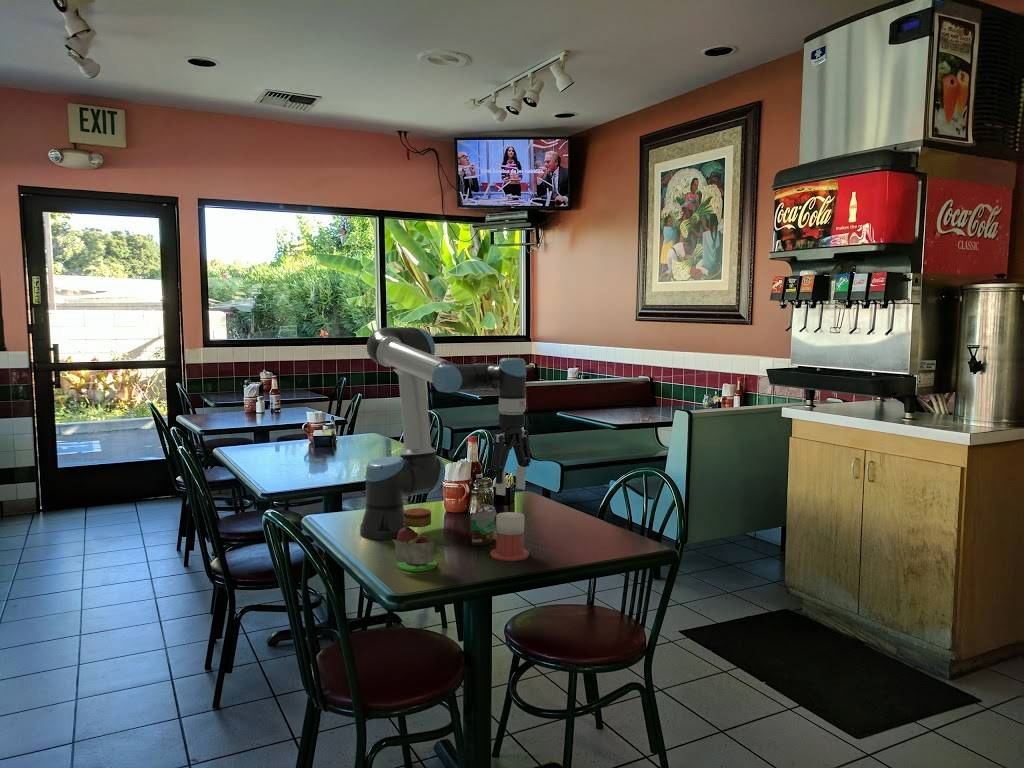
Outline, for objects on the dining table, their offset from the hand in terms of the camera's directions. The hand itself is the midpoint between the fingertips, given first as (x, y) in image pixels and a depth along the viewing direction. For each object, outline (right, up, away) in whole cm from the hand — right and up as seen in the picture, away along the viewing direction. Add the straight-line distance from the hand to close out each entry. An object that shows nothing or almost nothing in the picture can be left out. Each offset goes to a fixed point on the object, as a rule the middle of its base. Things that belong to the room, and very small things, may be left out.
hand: (510, 491), depth 213 cm
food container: (-8, -17, +15) cm, 24 cm away
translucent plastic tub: (-26, -19, -9) cm, 33 cm away
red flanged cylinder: (0, -18, +1) cm, 18 cm away
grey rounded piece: (0, -14, +1) cm, 14 cm away
